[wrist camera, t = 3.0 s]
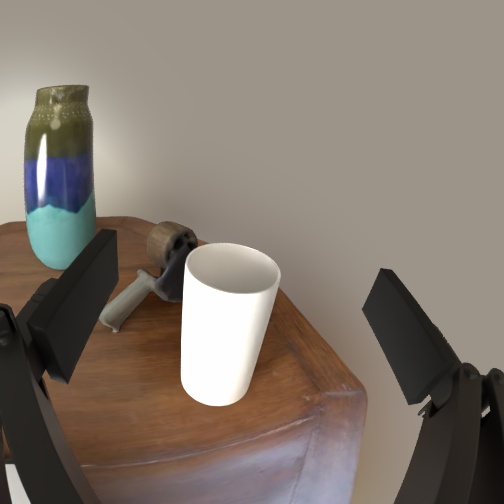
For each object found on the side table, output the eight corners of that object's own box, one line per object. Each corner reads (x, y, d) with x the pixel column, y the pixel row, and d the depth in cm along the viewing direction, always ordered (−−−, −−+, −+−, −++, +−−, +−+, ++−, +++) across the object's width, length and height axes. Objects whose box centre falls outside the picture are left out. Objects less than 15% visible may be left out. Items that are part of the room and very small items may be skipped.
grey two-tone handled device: (112, 346, 32) (100, 271, 27) (89, 321, 35) (76, 249, 29) (211, 285, 48) (221, 222, 43) (186, 270, 51) (193, 209, 45)
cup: (201, 344, 36) (214, 234, 29) (258, 368, 34) (291, 261, 27) (167, 385, 29) (165, 269, 22) (232, 417, 27) (262, 308, 20)
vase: (101, 274, 44) (103, 82, 30) (29, 282, 37) (14, 90, 23) (97, 238, 54) (102, 87, 40) (38, 245, 47) (33, 92, 33)
